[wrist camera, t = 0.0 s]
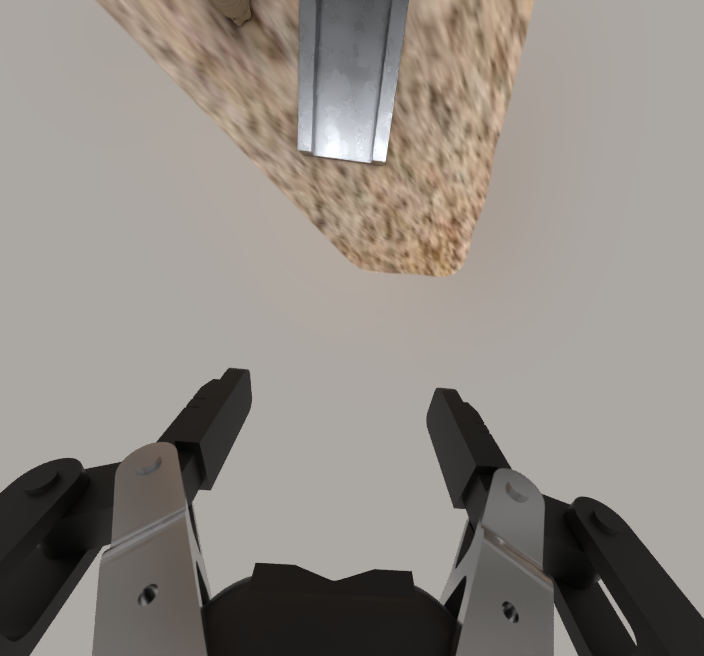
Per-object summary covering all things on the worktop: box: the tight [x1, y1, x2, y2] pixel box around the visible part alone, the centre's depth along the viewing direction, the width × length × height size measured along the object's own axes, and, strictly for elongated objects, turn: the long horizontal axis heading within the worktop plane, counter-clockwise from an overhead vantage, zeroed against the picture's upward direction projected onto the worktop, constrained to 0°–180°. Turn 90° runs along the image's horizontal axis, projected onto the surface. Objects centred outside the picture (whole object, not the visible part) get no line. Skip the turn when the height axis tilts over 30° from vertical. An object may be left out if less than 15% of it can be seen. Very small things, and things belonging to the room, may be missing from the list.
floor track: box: [298, 0, 409, 166], centre depth 27 cm, size 14×10×4 cm
